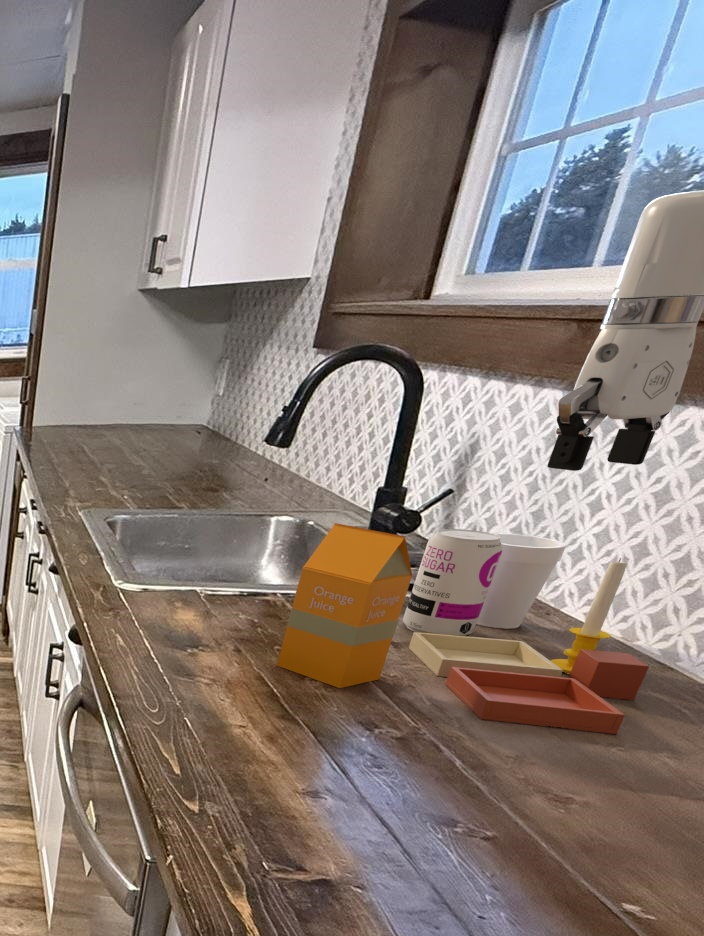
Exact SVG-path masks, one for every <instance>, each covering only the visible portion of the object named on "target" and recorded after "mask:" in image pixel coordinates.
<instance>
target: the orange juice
mask: <svg viewBox="0 0 704 936" xmlns="http://www.w3.org/2000/svg"><path fill="white" fill-rule="evenodd" d="M410 561H411V560H410V556H409V551H408V546H407V541H406V536H404V535H400V534H394V533H389V532H384V531H379V530H373V529H368V528H364V527H363V528H362V527H358V526H352V525H348V524H347V525H346V524H342V523H337V522H334V524H333V525H332V527H331V528H330V530H329V531H328V532H327V534H326V535H325V537H324V538H323V539H322V541H321V542H320V543H319V545H318V546H317V548H316V549H315V550H314V552H313V553H312V554H311V556H310V557H309V558H308V560H307V561H306V563H305V564H304V565H303V566H302V569H301V572H300V576H299V579H298V582H297V583H298V584H297V587H296V591H295V595H294V598H293V603H292V606H291V609H290V612H289V615H288V620H287V623H286V629H285V633H284V637H283V640H282V644H281V647H280V651H279V654H278V658H277V662H276V666H277V667H279V668H282V669H284V670H289V671H291V672H294V673H296V674H299V675H302V676H303V677H304V676H305V677H307V678H310V679H313V680H314V681H315V680H316V681H318V682H321V683H324V684H327V685H329V686H332V687H335V688H338V689H343V688H346V687H351V686H355V685H360V684H364V683H369V682H374V681H377V680H380V678H381V674H382V672H383V669H384V665H385V662H386V659H387V656H388V653H389V650H390V646H391V643H392V641H393V639H394V636H395V632H396V629H397V626H398V623H399V621H400V619H399V618H400V615H401V613H402V609H403V606H404V602H405V600H406V597H407V593H408V591H409V588H410V584H411V581H412V577H413V571H412V567H411V562H410Z"/></svg>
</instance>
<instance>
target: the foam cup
mask: <svg viewBox="0 0 704 936" xmlns="http://www.w3.org/2000/svg"><path fill="white" fill-rule="evenodd" d="M492 534H496V535H498V536H500V537H501V539H500V541H501V544H502V547H503V551H502V553H501V556H500V559H499V562H498V564H497V567H496V570H495V573H494V576H493V578H492V581H491V584H490V587H489V590H488V592H487V595H486V598H485V601H484V603H483V606H482V609H481V612H480V615H479V617H478V620H477V623H476V625H478V626H482V627H487V628H495V629H505V630H506V629H507V630H508V629H517V628H519V627H520V626H521V625H522V623H523V621H524V620H525V618H526V616H527V615H528V613H529V612H530V609H531V608H532V606H533V604H534V603H535V601H536V599H537V598H538V596H539V594H540V592H541V591H542V589H543V587H544V586H545V584H546V583H547V581H548V579H549V577H550V575H551V574H552V572H553V570H554V569H555V567H556V565H557V564H558V562H560V561H561V560H562V557H563V554H564V552H565V549H566V547H567V545H566V544H565V542H563V541H559V540H556V539H553V538H548V537H542V536H537V535H529V534H520V533H503V532H495V533H493V532H492Z"/></svg>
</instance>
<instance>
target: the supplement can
mask: <svg viewBox="0 0 704 936" xmlns="http://www.w3.org/2000/svg"><path fill="white" fill-rule="evenodd" d="M500 539H501V537H500V536H498V535H496V534H493V532H492V533H491V532H487V531H481V530H473V529H463V528H461V529H460V528H443V529H439V530H437V531H436V533H435V534H434V535H432V536H431V537H430V538H429V539H428V540H427V543H426V545H425V546H426V547H425V550H424V553H423V556H422V558H421V562H420V565H419V569H418V571H417V575H416V578H415V580H414V584H413V587H412V590H411V593H410V596H409V599H408V603H407V605H406V609H405V610H404V611H405V612H404V614H403V617H402V623H403V624H404V625H405V626H406V629H409V630H410V631H413V632H420V633H432V634H444V635H456V636H467V635H471V634H472V633H473V632H474V631H475V628H476V625H477V624H476V623H477V620H478V617H479V615H480V612H481V609H482V606H483V603H484V601H485V598H486V595H487V592H488V590H489V587H490V584H491V581H492V578H493V576H494V573H495V570H496V567H497V564H498V562H499V559H500V556H501V553H502V551H503V547H502V544H501V541H500Z"/></svg>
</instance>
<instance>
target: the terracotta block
mask: <svg viewBox="0 0 704 936" xmlns="http://www.w3.org/2000/svg"><path fill="white" fill-rule="evenodd" d="M649 668H650V666H649V665H648V664H646V663H645V662H643V661H642V660H639V659H638V658H636V657H635V656H633V655H631V654H630V653H628V652H617V651H607V650H606V651H604V650H596V649H595V650H583V649H580V651H579V653H578V656H577V658H576V660H575V663H574V665H573V668H572V670H571V672H570V674H568V677H567V678H574V679H576V680H577V681H579V682H580V683H582V684H583V685H584V686H586V687H587V688H588V689H590V690H591V691H593V692H594V693H595V694H597V695H598V696H601V698H608V697H609V698H610V699H618V700H628V701H635V699H636V696H637V694H638V692H639V690H640V688H641V685H642V684H643V681H644V679H645V676H646V674H647V672H648V671H649Z"/></svg>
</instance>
